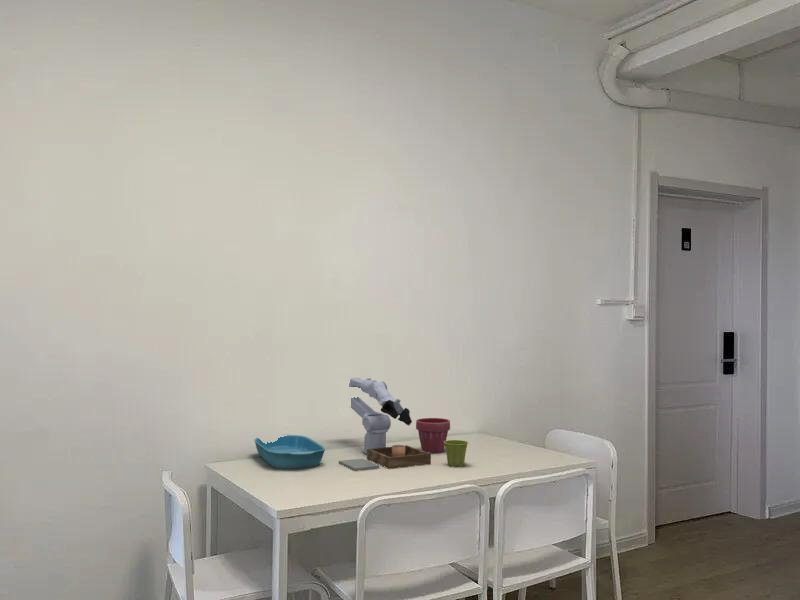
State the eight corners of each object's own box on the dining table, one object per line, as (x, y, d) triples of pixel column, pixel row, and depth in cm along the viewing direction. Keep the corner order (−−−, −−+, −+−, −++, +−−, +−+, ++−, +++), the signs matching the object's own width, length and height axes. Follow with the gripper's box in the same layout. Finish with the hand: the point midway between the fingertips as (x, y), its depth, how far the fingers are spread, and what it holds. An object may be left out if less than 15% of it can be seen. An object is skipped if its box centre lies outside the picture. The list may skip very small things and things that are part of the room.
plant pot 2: (439, 465, 273) (439, 442, 273) (449, 461, 281) (449, 438, 281) (462, 468, 269) (462, 445, 269) (471, 464, 277) (472, 441, 277)
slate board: (338, 463, 274) (338, 460, 274) (362, 461, 279) (362, 458, 279) (354, 471, 262) (354, 468, 262) (379, 468, 267) (379, 465, 267)
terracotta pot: (389, 461, 280) (389, 445, 280) (400, 459, 282) (401, 444, 282) (395, 463, 275) (396, 447, 275) (407, 462, 278) (407, 446, 278)
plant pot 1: (409, 448, 304) (410, 418, 304) (439, 446, 310) (439, 416, 310) (425, 455, 291) (425, 423, 291) (455, 453, 297) (456, 421, 297)
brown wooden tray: (366, 459, 282) (367, 449, 282) (406, 455, 291) (407, 445, 291) (389, 468, 266) (389, 457, 266) (430, 464, 275) (430, 453, 275)
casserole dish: (332, 469, 266) (333, 449, 266) (273, 474, 256) (273, 453, 257) (301, 450, 299) (302, 432, 299) (248, 454, 290) (248, 436, 290)
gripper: (380, 386, 281) (396, 405, 270) (405, 399, 290) (421, 418, 279) (370, 401, 281) (385, 420, 271) (395, 413, 290) (411, 432, 279)
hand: (403, 420), depth 275 cm, fingers open, 7 cm apart
